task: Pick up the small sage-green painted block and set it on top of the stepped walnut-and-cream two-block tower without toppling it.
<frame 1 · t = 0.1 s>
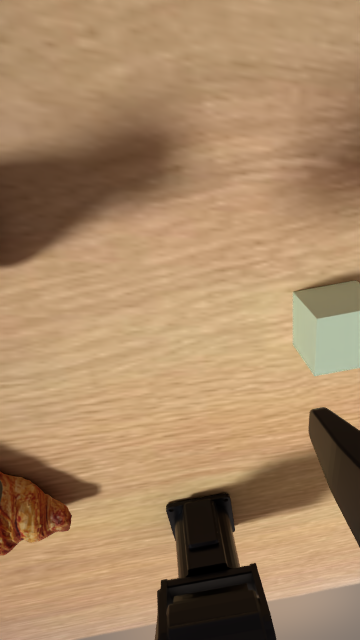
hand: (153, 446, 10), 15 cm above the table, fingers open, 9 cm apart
sage block: (322, 313, 26), on the table
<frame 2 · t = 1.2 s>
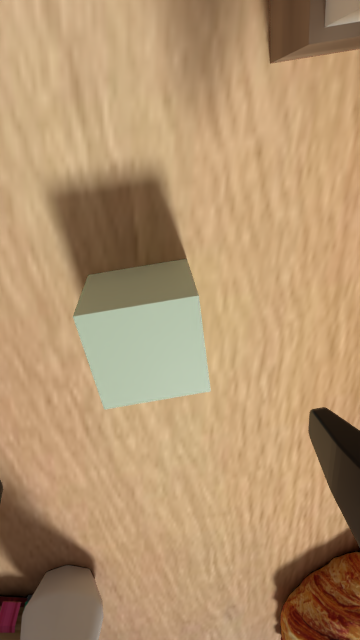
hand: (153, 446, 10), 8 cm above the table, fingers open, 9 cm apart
salt shaker: (69, 576, 28), on the table
croissant: (322, 586, 34), on the table
sage block: (146, 309, 17), on the table
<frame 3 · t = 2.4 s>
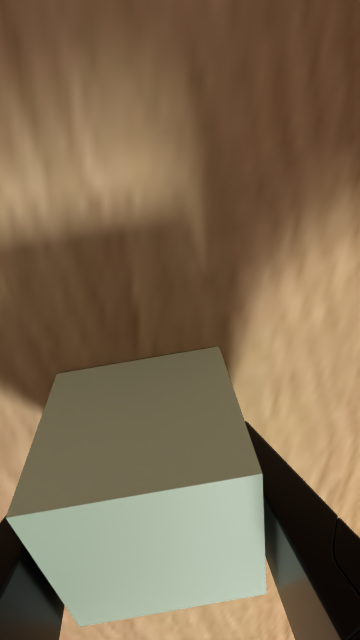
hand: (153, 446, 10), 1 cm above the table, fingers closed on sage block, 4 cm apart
sage block: (152, 418, 11), on the table, touching gripper
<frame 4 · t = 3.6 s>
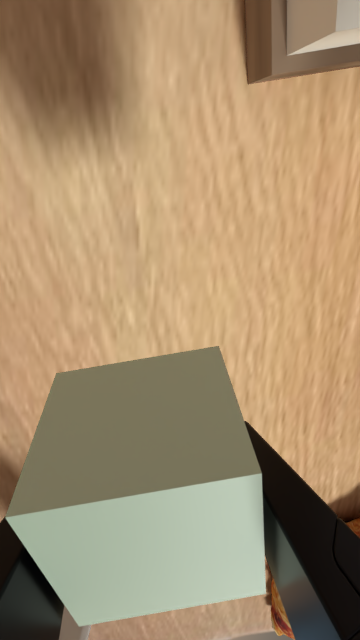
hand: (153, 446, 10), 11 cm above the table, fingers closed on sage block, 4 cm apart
salt shaker: (72, 545, 31), on the table
croissant: (310, 557, 36), on the table
sage block: (152, 418, 11), point 10 cm above the table, touching gripper
when the fingers open (9 cm above the table, at t = 5.2 s): sage block drops 1 cm, resting on cream middle block.
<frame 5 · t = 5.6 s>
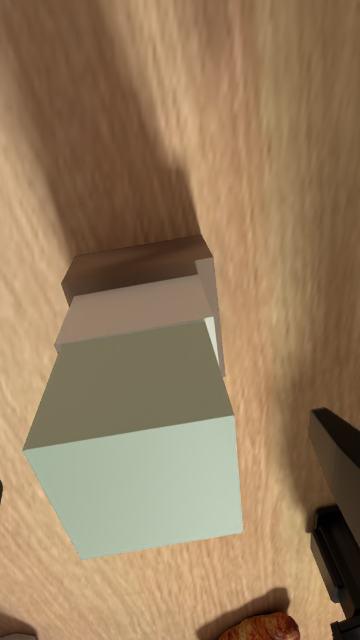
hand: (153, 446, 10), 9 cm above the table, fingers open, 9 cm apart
salt shaker: (18, 639, 35), on the table
croissant: (240, 637, 41), on the table
sage block: (146, 388, 12), point 7 cm above the table, touching cream middle block
cream middle block: (148, 337, 15), point 3 cm above the table, touching sage block, walnut base block
walnut base block: (150, 299, 18), on the table, touching cream middle block
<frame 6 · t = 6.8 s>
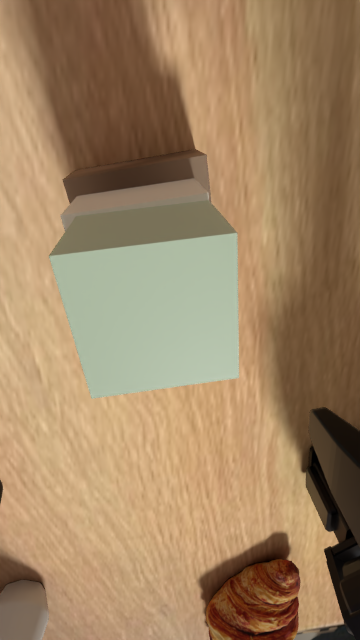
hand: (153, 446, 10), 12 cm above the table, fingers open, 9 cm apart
salt shaker: (25, 587, 36), on the table
croissant: (242, 588, 42), on the table
sage block: (151, 270, 13), point 7 cm above the table, touching cream middle block
cream middle block: (146, 244, 16), point 3 cm above the table, touching sage block, walnut base block
walnut base block: (147, 219, 19), on the table, touching cream middle block
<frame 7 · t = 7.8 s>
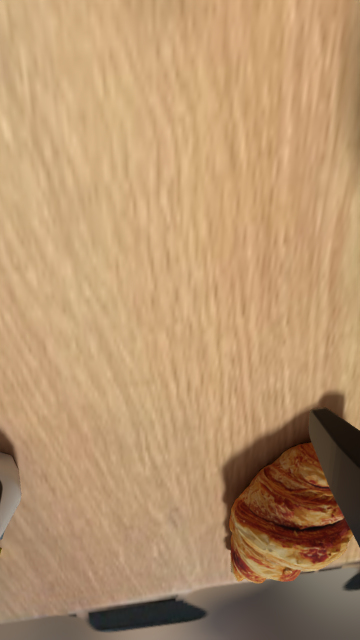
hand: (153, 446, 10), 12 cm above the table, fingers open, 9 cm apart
croissant: (275, 491, 33), on the table
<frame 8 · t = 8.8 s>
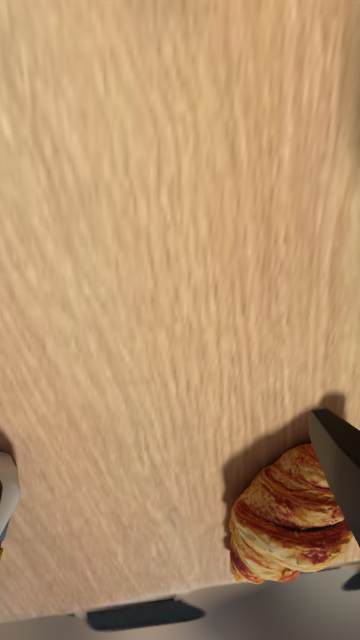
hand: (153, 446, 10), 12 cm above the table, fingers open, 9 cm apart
croissant: (275, 491, 33), on the table
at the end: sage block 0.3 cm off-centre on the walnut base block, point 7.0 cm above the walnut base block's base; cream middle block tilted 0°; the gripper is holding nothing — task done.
